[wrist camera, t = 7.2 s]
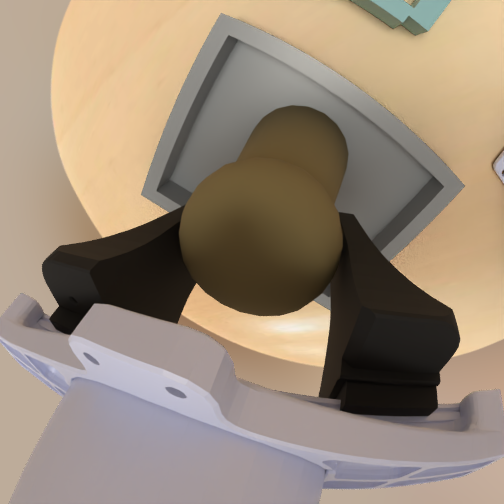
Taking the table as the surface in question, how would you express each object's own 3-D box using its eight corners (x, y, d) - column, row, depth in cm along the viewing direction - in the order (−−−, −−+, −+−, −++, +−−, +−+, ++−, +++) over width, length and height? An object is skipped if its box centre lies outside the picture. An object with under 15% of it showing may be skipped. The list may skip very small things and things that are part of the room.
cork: (293, 215, 19) (247, 358, 10) (229, 148, 17) (120, 251, 9) (368, 164, 15) (397, 299, 7) (300, 84, 14) (240, 113, 5)
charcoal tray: (450, 170, 14) (465, 185, 13) (332, 288, 23) (330, 310, 21) (235, 19, 13) (221, 13, 11) (158, 180, 21) (141, 194, 19)
